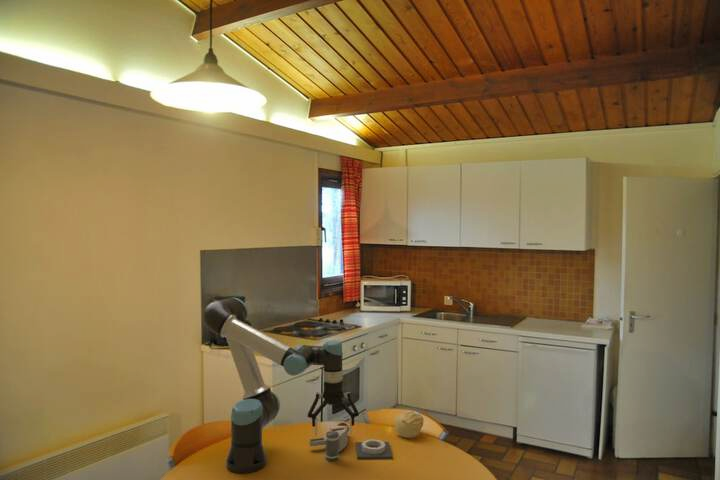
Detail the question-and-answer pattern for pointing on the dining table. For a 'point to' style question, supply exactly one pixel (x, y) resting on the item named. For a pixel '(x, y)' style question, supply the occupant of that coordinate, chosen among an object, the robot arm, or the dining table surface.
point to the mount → (373, 450)
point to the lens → (332, 445)
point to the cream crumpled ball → (409, 424)
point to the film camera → (343, 437)
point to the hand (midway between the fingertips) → (333, 434)
